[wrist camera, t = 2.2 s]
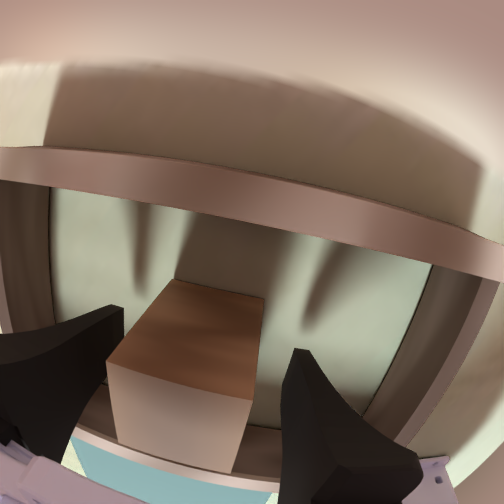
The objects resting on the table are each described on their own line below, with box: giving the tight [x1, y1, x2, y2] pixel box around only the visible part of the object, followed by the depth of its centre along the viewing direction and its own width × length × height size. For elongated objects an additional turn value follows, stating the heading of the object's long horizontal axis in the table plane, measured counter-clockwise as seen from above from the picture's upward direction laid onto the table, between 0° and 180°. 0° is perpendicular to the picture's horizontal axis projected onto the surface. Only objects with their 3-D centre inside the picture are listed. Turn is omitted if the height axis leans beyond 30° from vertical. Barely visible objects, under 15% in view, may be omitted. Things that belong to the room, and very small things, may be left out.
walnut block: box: [106, 279, 264, 474], centre depth 11 cm, size 4×4×6 cm
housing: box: [0, 146, 504, 493], centre depth 11 cm, size 20×14×4 cm
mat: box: [70, 435, 272, 504], centre depth 19 cm, size 16×16×1 cm
